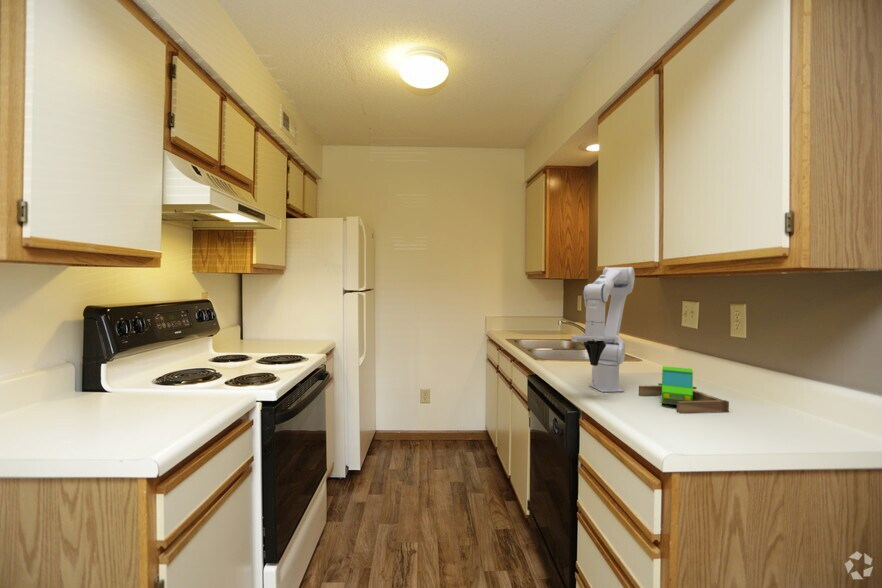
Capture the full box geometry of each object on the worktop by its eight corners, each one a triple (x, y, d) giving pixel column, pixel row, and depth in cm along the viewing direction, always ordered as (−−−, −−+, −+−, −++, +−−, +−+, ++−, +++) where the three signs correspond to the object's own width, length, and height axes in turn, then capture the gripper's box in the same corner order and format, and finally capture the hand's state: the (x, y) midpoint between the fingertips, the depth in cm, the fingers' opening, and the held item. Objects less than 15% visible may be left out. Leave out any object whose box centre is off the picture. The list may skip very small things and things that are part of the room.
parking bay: (638, 395, 141) (638, 385, 141) (680, 394, 143) (681, 385, 143) (680, 413, 121) (680, 402, 121) (728, 411, 123) (729, 401, 123)
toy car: (657, 406, 128) (658, 373, 128) (658, 396, 140) (659, 365, 140) (697, 412, 123) (698, 377, 123) (694, 401, 135) (695, 369, 135)
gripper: (579, 322, 131) (577, 367, 131) (623, 323, 133) (622, 367, 133) (569, 320, 138) (567, 363, 138) (611, 321, 140) (610, 363, 140)
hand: (593, 365), depth 136 cm, fingers closed
